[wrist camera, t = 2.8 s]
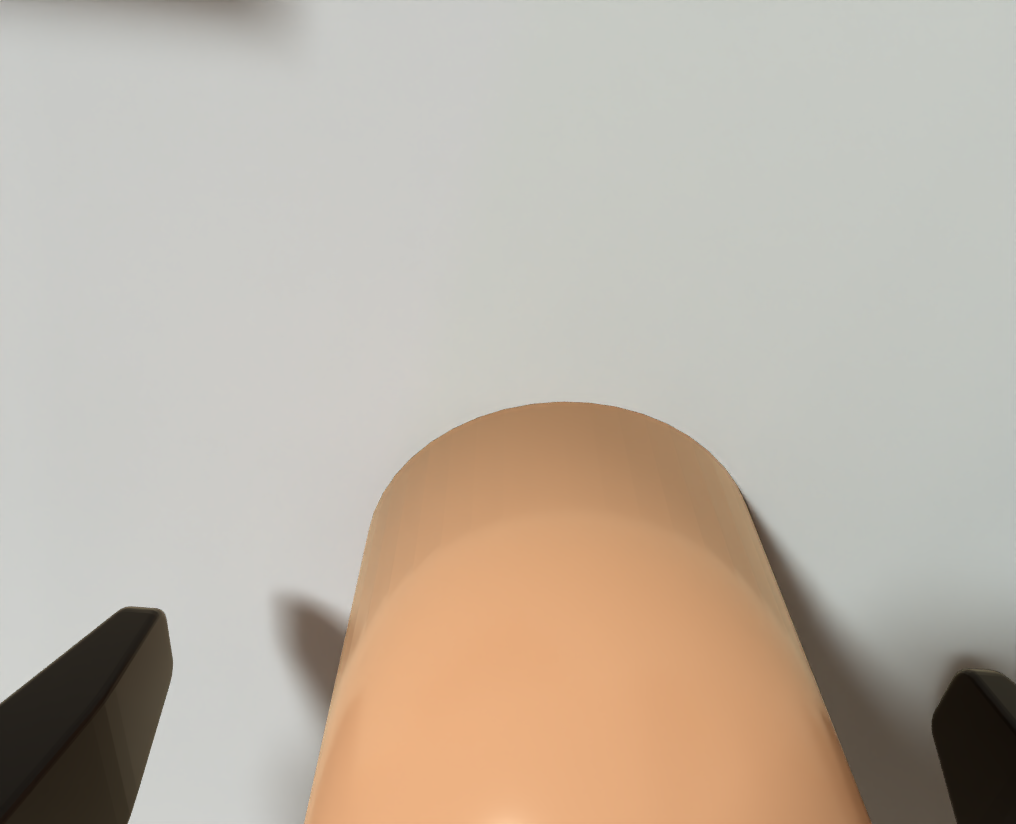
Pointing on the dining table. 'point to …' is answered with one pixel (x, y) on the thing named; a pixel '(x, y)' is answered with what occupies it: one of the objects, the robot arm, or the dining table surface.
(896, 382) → the dining table surface
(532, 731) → the shaker
